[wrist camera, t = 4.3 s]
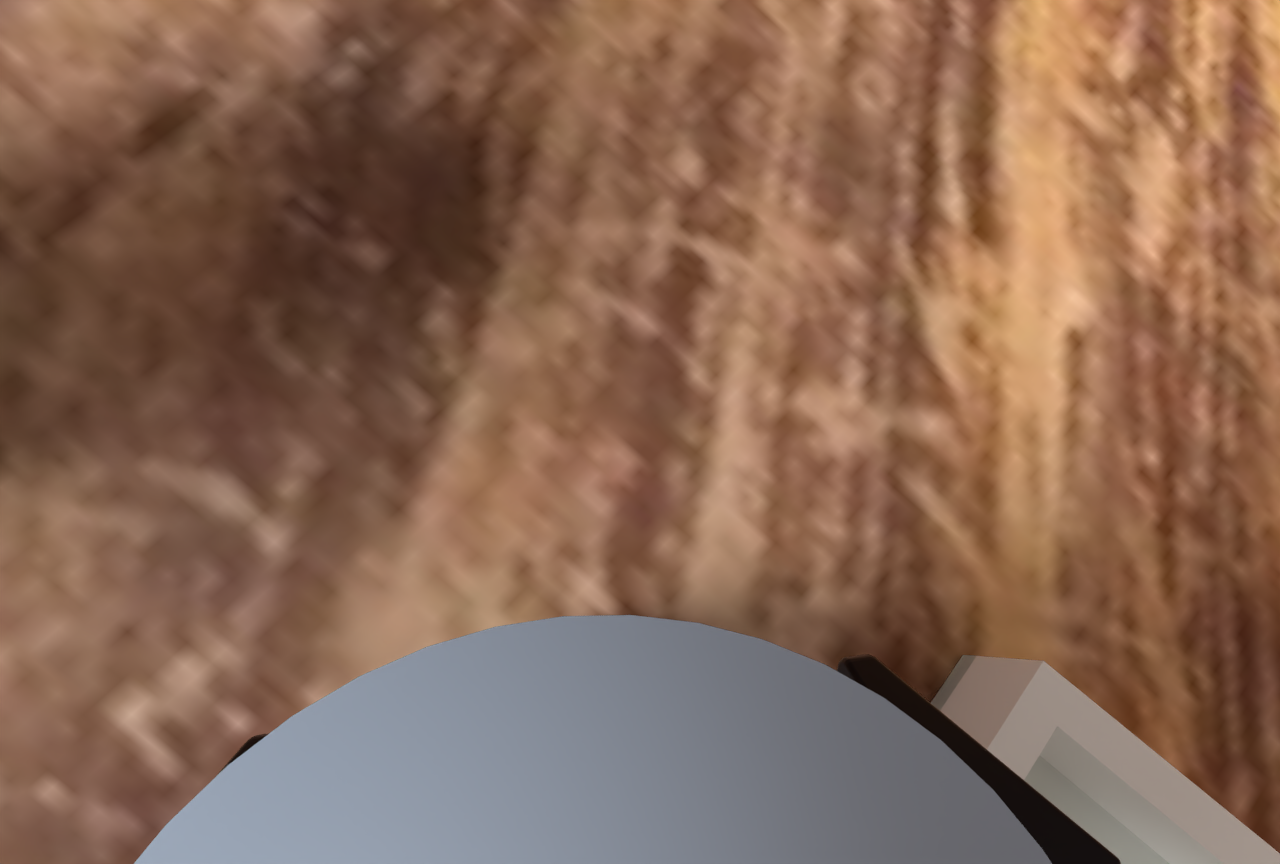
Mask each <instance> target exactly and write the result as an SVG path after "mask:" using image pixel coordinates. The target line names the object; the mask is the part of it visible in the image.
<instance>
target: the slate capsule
mask: <svg viewBox="0 0 1280 864" xmlns="http://www.w3.org/2000/svg"><path fill="white" fill-rule="evenodd" d="M134 864H1052V863H1051V861H1050V860H1049V858H1048V857H1047V855H1046V854H1045V852H1044V851H1043V849H1042V848H1041V847H1040V846H1039V844H1038V843H1037V842H1036V841H1035V840H1034V838H1033V837H1032V836H1031V835H1030V834H1029V832H1028V831H1027V830H1026V829H1025V828H1024V826H1023V825H1022V824H1021V823H1020V821H1019V820H1018V819H1017V818H1016V817H1015V815H1014V814H1013V813H1012V812H1011V811H1010V809H1009V808H1008V807H1007V806H1006V805H1005V803H1004V802H1003V801H1002V800H1001V799H1000V797H999V796H998V795H997V794H996V792H995V791H994V790H993V789H992V788H991V787H990V786H989V785H987V784H986V783H985V782H984V781H983V780H982V779H981V778H980V777H979V776H978V775H977V774H976V773H975V772H974V771H973V770H972V769H971V768H970V767H969V766H968V765H967V764H965V763H964V762H963V761H962V760H961V759H960V758H959V757H958V756H957V755H956V754H955V753H954V752H953V751H952V750H951V749H950V748H949V747H948V746H947V745H946V744H945V743H943V742H942V741H941V740H940V739H939V738H937V737H936V736H935V735H933V734H932V733H931V732H929V731H928V730H927V729H925V728H924V727H923V726H921V725H920V724H919V723H917V722H916V721H915V720H913V719H912V718H911V717H909V716H908V715H907V714H905V713H904V712H902V711H901V710H900V709H898V708H897V707H896V706H894V705H893V704H892V703H890V702H889V701H888V700H886V699H885V698H883V697H882V696H880V695H878V694H876V693H875V692H873V691H871V690H869V689H867V688H866V687H864V686H862V685H860V684H859V683H857V682H855V681H853V680H851V679H850V678H848V677H846V676H844V675H843V674H841V673H839V672H837V671H836V670H834V669H832V668H830V667H828V666H827V665H825V664H822V663H820V662H818V661H815V660H813V659H810V658H808V657H805V656H803V655H800V654H798V653H795V652H793V651H790V650H788V649H785V648H783V647H780V646H778V645H775V644H773V643H770V642H768V641H765V640H763V639H760V638H756V637H752V636H748V635H744V634H740V633H736V632H732V631H728V630H724V629H720V628H716V627H712V626H709V625H705V624H701V623H696V622H687V621H679V620H670V619H661V618H653V617H644V616H635V615H606V616H562V617H556V618H550V619H543V620H537V621H530V622H524V623H517V624H511V625H504V626H498V627H493V628H490V629H486V630H483V631H479V632H476V633H473V634H469V635H466V636H462V637H459V638H456V639H452V640H449V641H445V642H442V643H438V644H435V645H432V646H428V647H425V648H423V649H421V650H419V651H416V652H414V653H412V654H409V655H407V656H405V657H403V658H400V659H398V660H396V661H393V662H391V663H389V664H387V665H384V666H382V667H380V668H377V669H375V670H373V671H370V672H368V673H366V674H364V675H361V676H359V677H357V678H356V679H354V680H352V681H351V682H349V683H347V684H345V685H344V686H342V687H340V688H339V689H337V690H335V691H334V692H332V693H330V694H329V695H327V696H325V697H324V698H322V699H320V700H318V701H317V702H315V703H313V704H312V705H310V706H308V707H307V708H305V709H303V710H302V711H300V712H298V713H296V714H295V715H293V716H292V717H290V718H289V719H288V720H286V721H285V722H284V723H282V724H281V725H280V726H279V727H277V728H276V729H275V730H273V731H272V732H271V733H269V734H268V735H267V736H265V737H264V738H263V739H262V740H260V741H259V742H258V743H256V744H255V745H254V746H252V747H251V748H250V749H248V750H247V751H246V752H245V753H243V754H242V755H241V756H239V757H238V758H237V759H235V760H234V761H233V762H231V763H230V764H229V765H228V766H227V767H226V768H225V769H223V770H222V771H221V772H220V773H219V774H218V775H217V776H216V777H215V778H214V779H213V780H212V781H211V782H210V783H209V784H208V785H207V786H206V787H205V788H204V789H203V790H202V791H201V792H200V793H199V794H198V795H196V796H195V797H194V798H193V799H192V800H191V801H190V802H189V803H188V804H187V805H186V806H185V807H184V808H183V809H182V810H181V811H180V812H179V813H178V814H177V815H176V816H175V817H174V818H173V819H172V820H170V821H169V822H168V823H167V824H166V826H165V827H164V828H163V829H162V830H161V832H160V833H159V834H158V835H157V836H156V838H155V839H154V840H153V841H152V842H151V844H150V845H149V846H148V847H147V848H146V850H145V851H144V852H143V853H142V854H141V856H140V857H139V858H138V859H137V860H136V862H135V863H134Z"/></svg>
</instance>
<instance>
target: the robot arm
mask: <svg viewBox="0 0 1280 864" xmlns="http://www.w3.org/2000/svg"><path fill="white" fill-rule="evenodd" d="M837 672H839V673H841V674H843V675H844V676H846V677H848V678H850V679H851V680H853V681H855V682H857V683H859V684H860V685H862V686H864V687H866V688H867V689H869V690H871V691H873V692H875V693H876V694H878V695H880V696H882V697H883V698H885V699H886V700H888V701H889V702H890V703H892V704H893V705H894V706H896V707H897V708H898V709H900V710H901V711H902V712H904V713H905V714H907V715H908V716H909V717H911V718H912V719H913V720H915V721H916V722H917V723H919V724H920V725H921V726H923V727H924V728H925V729H927V730H928V731H929V732H931V733H932V734H933V735H935V736H936V737H937V738H939V739H940V740H941V741H942V742H943V743H945V744H946V745H947V746H948V747H949V748H950V749H951V750H952V751H953V752H954V753H955V754H956V755H957V756H958V757H959V758H960V759H961V760H962V761H963V762H964V763H965V764H967V765H968V766H969V767H970V768H971V769H972V770H973V771H974V772H975V773H976V774H977V775H978V776H979V777H980V778H981V779H982V780H983V781H984V782H985V783H986V784H987V785H989V786H990V787H991V788H992V789H993V790H994V791H995V792H996V794H997V795H998V796H999V797H1000V799H1001V800H1002V801H1003V802H1004V803H1005V805H1006V806H1007V807H1008V808H1009V809H1010V811H1011V812H1012V813H1013V814H1014V815H1015V817H1016V818H1017V819H1018V820H1019V821H1020V823H1021V824H1022V825H1023V826H1024V828H1025V829H1026V830H1027V831H1028V832H1029V834H1030V835H1031V836H1032V837H1033V838H1034V840H1035V841H1036V842H1037V843H1038V844H1039V846H1040V847H1041V848H1042V849H1043V851H1044V852H1045V854H1046V855H1047V857H1048V858H1049V860H1050V861H1051V863H1052V864H1121V862H1120V860H1119V858H1118V857H1116V856H1115V855H1114V854H1113V853H1112V852H1110V851H1109V850H1108V849H1107V848H1105V847H1104V846H1103V845H1102V844H1101V843H1099V842H1098V841H1097V840H1096V839H1095V838H1093V837H1092V836H1091V835H1090V834H1089V833H1087V832H1086V831H1085V830H1084V829H1082V828H1081V827H1080V826H1079V825H1078V824H1076V823H1075V822H1074V821H1073V820H1072V819H1070V818H1069V817H1068V816H1067V815H1066V814H1064V813H1063V812H1062V811H1061V810H1059V809H1058V808H1057V807H1056V806H1055V805H1053V804H1052V803H1051V802H1050V801H1049V800H1047V799H1046V798H1045V797H1044V796H1043V795H1041V794H1040V793H1039V792H1038V791H1036V790H1035V789H1034V788H1033V787H1032V786H1030V785H1029V784H1028V783H1027V782H1026V781H1024V780H1023V779H1022V778H1021V777H1020V776H1018V775H1017V774H1016V773H1015V772H1013V771H1012V770H1011V769H1010V768H1009V767H1007V766H1006V765H1005V764H1004V763H1003V762H1001V761H1000V760H999V759H998V758H997V757H995V756H994V755H993V754H992V753H990V752H989V751H988V750H987V749H986V748H984V747H983V746H982V745H981V744H980V743H978V742H977V741H976V740H975V739H974V738H972V737H971V736H970V735H969V734H967V733H966V732H965V731H964V730H963V729H961V728H960V727H959V726H958V725H957V724H955V723H954V722H953V721H952V720H951V719H949V718H948V717H947V716H946V715H945V714H943V713H942V712H941V711H940V710H938V709H937V708H936V707H935V706H934V705H932V704H931V703H930V702H929V701H928V700H926V699H925V698H924V697H923V696H922V695H920V694H919V693H918V692H917V691H915V690H914V689H913V688H912V687H911V686H909V685H908V684H907V683H906V682H905V681H903V680H902V679H901V678H900V677H899V676H897V675H896V674H895V673H894V672H892V671H891V670H890V669H889V668H888V667H886V666H885V665H884V664H883V663H882V662H880V661H879V660H878V659H877V658H875V657H873V656H871V655H857V656H850V657H844V658H842V659H841V660H840V662H839V664H838V669H837ZM267 735H268V734H262V735H257V736H254V737H252V738H251V739H249V740H248V741H247V742H246V743H245V744H244V745H243V746H242V747H241V748H240V750H239V751H238V752H237V753H236V754H235V755H234V756H233V758H232V759H231V760H230V761H229V762H228V763H227V764H226V766H225V767H224V768H223V769H225V768H226V767H227V766H228V765H229V764H230V763H231V762H233V761H234V760H235V759H237V758H238V757H239V756H241V755H242V754H243V753H245V752H246V751H247V750H248V749H250V748H251V747H252V746H254V745H255V744H256V743H258V742H259V741H260V740H262V739H263V738H264V737H265V736H267ZM223 769H222V770H223ZM222 770H221V771H222ZM221 771H220V772H221ZM220 772H219V773H220Z"/></svg>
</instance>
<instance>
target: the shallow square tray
mask: <svg viewBox="0 0 1280 864" xmlns="http://www.w3.org/2000/svg"><path fill="white" fill-rule="evenodd" d="M931 704H932V705H934V706H935V707H936V708H937V709H938V710H940V711H941V712H942V713H943V714H945V715H946V716H947V717H948V718H949V719H951V720H952V721H953V722H954V723H955V724H957V725H958V726H959V727H960V728H961V729H963V730H964V731H965V732H966V733H967V734H969V735H970V736H971V737H972V738H974V739H975V740H976V741H977V742H978V743H980V744H981V745H982V746H983V747H984V748H986V749H987V750H988V751H989V752H990V753H992V754H993V755H994V756H995V757H997V758H998V759H999V760H1000V761H1001V762H1003V763H1004V764H1005V765H1006V766H1007V767H1009V768H1010V769H1011V770H1012V771H1013V772H1015V773H1016V774H1017V775H1018V776H1020V777H1021V778H1022V779H1023V780H1024V781H1026V782H1027V783H1028V784H1029V785H1030V786H1032V787H1033V788H1034V789H1035V790H1036V791H1038V792H1039V793H1040V794H1041V795H1043V796H1044V797H1045V798H1046V799H1047V800H1049V801H1050V802H1051V803H1052V804H1053V805H1055V806H1056V807H1057V808H1058V809H1059V810H1061V811H1062V812H1063V813H1064V814H1066V815H1067V816H1068V817H1069V818H1070V819H1072V820H1073V821H1074V822H1075V823H1076V824H1078V825H1079V826H1080V827H1081V828H1082V829H1084V830H1085V831H1086V832H1087V833H1089V834H1090V835H1091V836H1092V837H1093V838H1095V839H1096V840H1097V841H1098V842H1099V843H1101V844H1102V845H1103V846H1104V847H1105V848H1107V849H1108V850H1109V851H1110V852H1112V853H1113V854H1114V855H1115V856H1116V857H1118V858H1119V860H1120V862H1121V864H1280V853H1278V852H1277V851H1276V850H1275V849H1274V848H1272V847H1271V846H1270V845H1269V844H1267V843H1266V842H1265V841H1264V840H1263V839H1261V838H1260V837H1259V836H1258V835H1256V834H1255V833H1254V832H1253V831H1252V830H1250V829H1249V828H1248V827H1247V826H1245V825H1244V824H1243V823H1242V822H1241V821H1239V820H1238V819H1237V818H1236V817H1234V816H1233V815H1232V814H1231V813H1229V812H1228V811H1227V810H1226V809H1225V808H1223V807H1222V806H1221V805H1220V804H1218V803H1217V802H1216V801H1215V800H1214V799H1212V798H1211V797H1210V796H1209V795H1207V794H1206V793H1205V792H1204V791H1203V790H1201V789H1200V788H1199V787H1198V786H1196V785H1195V784H1194V783H1193V782H1192V781H1190V780H1189V779H1188V778H1187V777H1185V776H1184V775H1183V774H1182V773H1181V772H1179V771H1178V770H1177V769H1176V768H1174V767H1173V766H1172V765H1171V764H1169V763H1168V762H1167V761H1166V760H1165V759H1163V758H1162V757H1161V756H1160V755H1158V754H1157V753H1156V752H1155V751H1154V750H1152V749H1151V748H1150V747H1149V746H1147V745H1146V744H1145V743H1144V742H1143V741H1141V740H1140V739H1139V738H1138V737H1136V736H1135V735H1134V734H1133V733H1132V732H1130V731H1129V730H1128V729H1127V728H1125V727H1124V726H1123V725H1122V724H1120V723H1119V722H1118V721H1117V720H1116V719H1114V718H1113V717H1112V716H1111V715H1109V714H1108V713H1107V712H1106V711H1105V710H1103V709H1102V708H1101V707H1100V706H1098V705H1097V704H1096V703H1095V702H1094V701H1092V700H1091V699H1090V698H1089V697H1087V696H1086V695H1085V694H1084V693H1083V692H1081V691H1080V690H1079V689H1078V688H1076V687H1075V686H1074V685H1073V684H1071V683H1070V682H1069V681H1068V680H1067V679H1065V678H1064V677H1063V676H1062V675H1060V674H1059V673H1058V672H1057V671H1056V670H1054V669H1053V668H1052V667H1051V666H1049V665H1048V664H1047V663H1046V662H1045V661H1041V660H1027V659H1013V658H999V657H985V656H971V655H962V657H961V658H960V660H959V661H958V663H957V664H956V666H955V667H954V669H953V670H952V672H951V673H950V675H949V676H948V678H947V679H946V681H945V682H944V684H943V685H942V687H941V688H940V690H939V691H938V693H937V694H936V696H935V697H934V699H933V700H932V702H931Z"/></svg>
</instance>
